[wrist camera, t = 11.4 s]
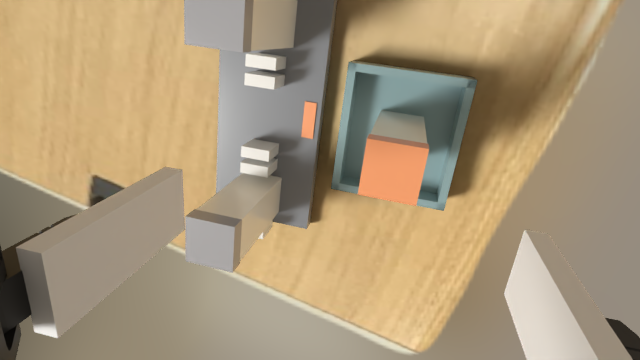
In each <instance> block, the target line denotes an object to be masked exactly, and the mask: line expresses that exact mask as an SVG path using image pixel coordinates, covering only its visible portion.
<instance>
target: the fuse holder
mask: <svg viewBox="0 0 640 360" xmlns="http://www.w3.org/2000/svg"><path fill="white" fill-rule="evenodd" d="M336 7H337V0H297V13H296V24H295V35H294V46H293V48H283V49H269V50H256V51H251V52H244V53H242V52H235V51H228V50H221V49H220V65H219V104H218V143H217V183H216V193H218V192H219V191H220V190H222V189H223V188H224V187H225V186H227V185H228V184H229V183H231V182H232V181H233V180H234V179H236V178H237V177H238V176H239V175H241V174H242V173H245V174H250V175H255V176H261V177H266V178H268V177H269V176H270V175H271V176H276V177H281V178H282V180H281V191H280V203H279V212H278V213H277V215H276V216H275V217H274V219H273V220H272V221H271V222H270V224H269V225H268V226H267V228H266V229H265V230H264V231H263V233H262V234H261V235H260V237H259V239H263V238H264V237H265V236H266V234H267V233H268V232H269V230H270V229H271V228H272V223H273V222H277V223H282V224H286V225H291V226H296V227H300V228H305V229H307V228H308V226H309V224H310V219H311V211H312V203H313V194H314V186H315V178H316V170H317V162H318V154H319V146H320V137H321V129H322V121H323V113H324V105H325V97H326V89H327V80H328V72H329V64H330V56H331V48H332V40H333V32H334V23H335V15H336Z"/></svg>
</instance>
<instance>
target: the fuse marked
mask: <svg viewBox="0 0 640 360" xmlns="http://www.w3.org/2000/svg"><path fill="white" fill-rule="evenodd" d="M428 152H429V144H427V137H426V129H425V121H424V117H422V116H416V115H409V114H403V113H397V112H391V111H384V110H381V112H380V114H379V116H378V118H377V120H376V122H375V125H374V127H373V129H372V131H371V133H370V134H369V135H368V137H367V141H366V147H365V153H364V159H363V165H362V171H361V177H360V183H359V189H358V195H363V196H368V197H373V198H378V199H383V200H389V201H394V202H399V203H404V204H409V205H414V206H416V205H417V201H418V196H419V192H420V187H421V183H422V179H423V174H424V170H425V166H426V161H427V157H428Z"/></svg>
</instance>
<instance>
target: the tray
mask: <svg viewBox="0 0 640 360" xmlns="http://www.w3.org/2000/svg"><path fill="white" fill-rule="evenodd" d="M476 84H477V80H476V79H475V78H473V77H469V76H461V75H454V74H447V73H440V72H433V71H426V70H418V69H411V68H404V67H397V66H390V65H383V64H376V63H368V62H361V61H354V60H353V61H351V62H349V64H348V71H347V78H346V86H345V93H344V100H343V107H342V114H341V121H340V129H339V136H338V143H337V150H336V157H335V164H334V172H333V179H332V186H331V189H335V190H340V191H345V192H351V193H356V194H358V189H359V183H360V177H361V171H362V165H363V159H364V153H365V147H366V141H367V137H368V135H369V134H370V133H371V131H372V129H373V127H374V125H375V122H376V120H377V118H378V116H379V114H380V112H381V110H384V111H391V112H397V113H403V114H409V115H416V116H422V117H424V121H425V129H426V137H427V144H429V152H428V157H427V161H426V166H425V170H424V174H423V179H422V183H421V187H420V192H419V196H418V201H417V206H422V207H427V208H432V209H437V210H442V211H444V208H445V204H446V200H447V196H448V193H449V189H450V185H451V181H452V177H453V173H454V169H455V165H456V161H457V158H458V154H459V150H460V146H461V142H462V138H463V134H464V130H465V127H466V123H467V119H468V115H469V111H470V107H471V103H472V99H473V95H474V92H475V88H476Z"/></svg>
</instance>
